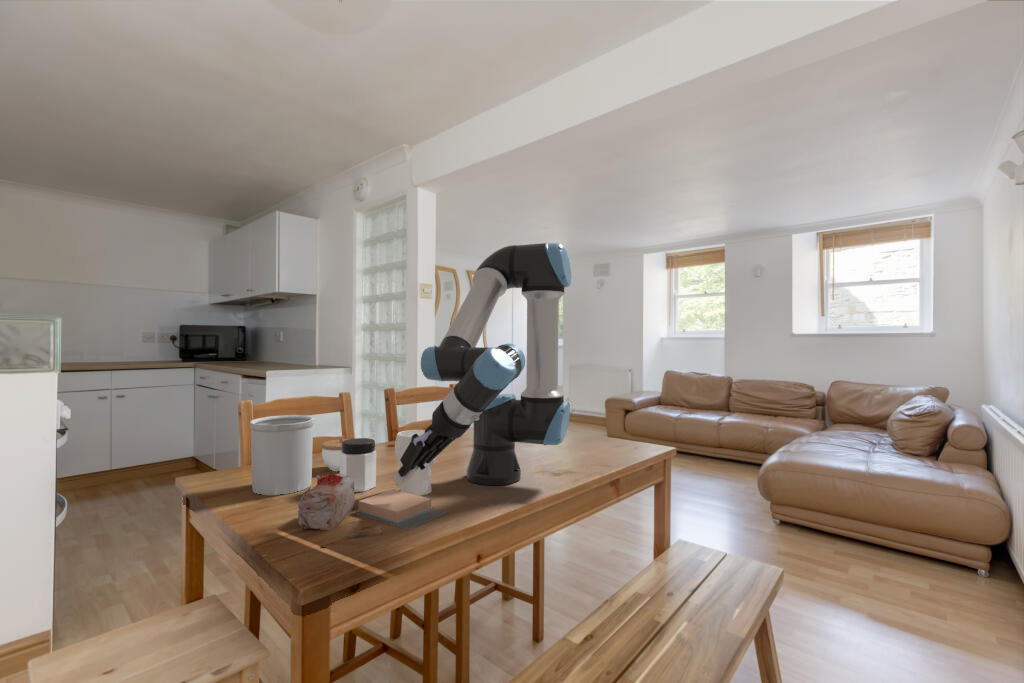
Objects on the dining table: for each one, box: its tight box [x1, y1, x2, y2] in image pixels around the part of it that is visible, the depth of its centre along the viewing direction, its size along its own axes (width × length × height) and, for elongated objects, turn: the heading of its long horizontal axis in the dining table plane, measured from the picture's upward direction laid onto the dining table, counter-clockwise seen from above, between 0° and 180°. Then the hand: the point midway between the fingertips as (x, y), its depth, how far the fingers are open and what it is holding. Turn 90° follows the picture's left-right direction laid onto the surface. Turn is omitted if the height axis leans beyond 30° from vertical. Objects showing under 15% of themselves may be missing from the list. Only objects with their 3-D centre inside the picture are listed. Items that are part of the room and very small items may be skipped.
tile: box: [357, 488, 432, 524], centre depth 103 cm, size 2×10×12 cm
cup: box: [394, 429, 438, 496], centre depth 117 cm, size 11×11×15 cm
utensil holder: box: [249, 414, 315, 496], centre depth 121 cm, size 15×15×18 cm
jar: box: [339, 437, 377, 493], centre depth 121 cm, size 9×8×12 cm
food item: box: [297, 473, 356, 531], centre depth 98 cm, size 14×8×10 cm, turn 1°
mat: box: [354, 507, 449, 531], centre depth 102 cm, size 16×12×1 cm
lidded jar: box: [321, 436, 349, 472], centre depth 139 cm, size 11×11×9 cm
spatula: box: [319, 528, 383, 550], centre depth 89 cm, size 11×4×1 cm, turn 113°
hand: (397, 481), depth 103 cm, fingers closed
